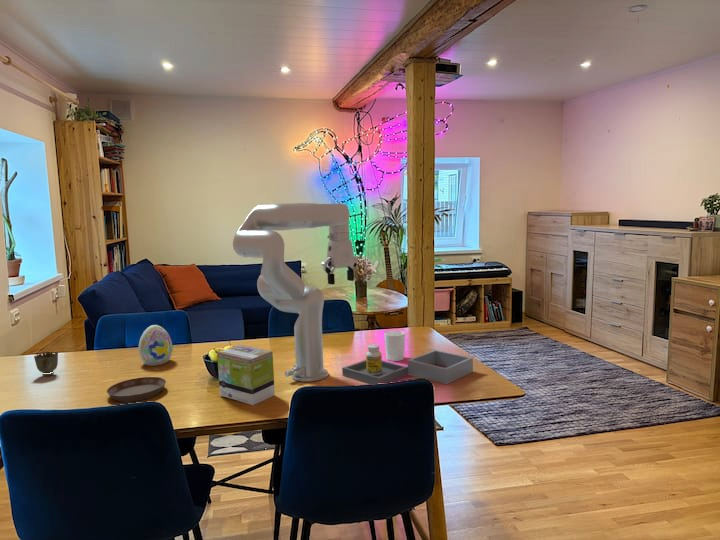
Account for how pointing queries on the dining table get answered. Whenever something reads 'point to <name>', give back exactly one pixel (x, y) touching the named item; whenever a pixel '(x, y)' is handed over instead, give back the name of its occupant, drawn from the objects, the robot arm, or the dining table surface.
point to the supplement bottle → (374, 360)
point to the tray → (387, 375)
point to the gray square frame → (453, 362)
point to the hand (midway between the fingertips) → (341, 282)
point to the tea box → (246, 374)
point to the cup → (46, 362)
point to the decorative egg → (155, 346)
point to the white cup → (394, 345)
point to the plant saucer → (136, 389)
